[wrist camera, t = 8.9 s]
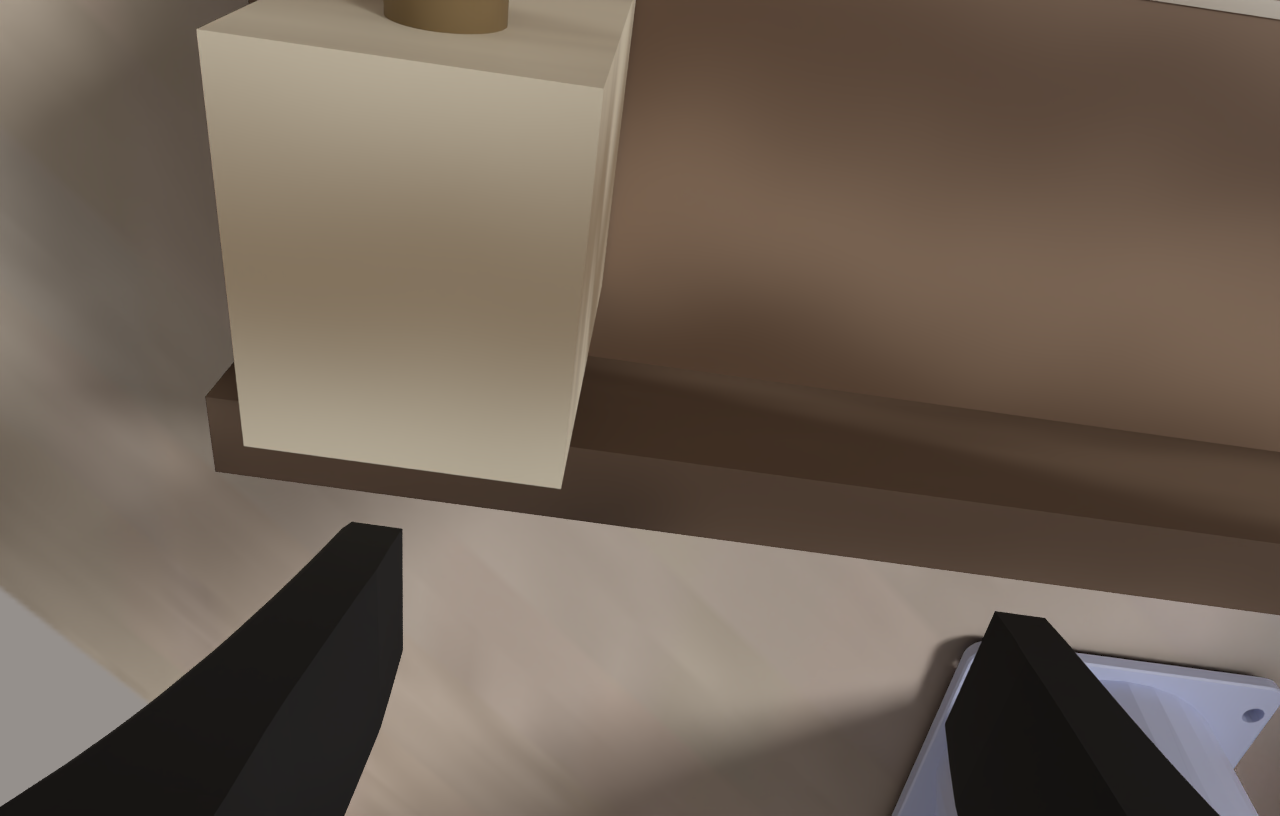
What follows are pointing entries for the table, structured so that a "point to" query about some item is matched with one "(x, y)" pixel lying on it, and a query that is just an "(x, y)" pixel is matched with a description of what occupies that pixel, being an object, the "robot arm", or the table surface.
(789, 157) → the board
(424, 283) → the beige block with rod
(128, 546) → the table surface
